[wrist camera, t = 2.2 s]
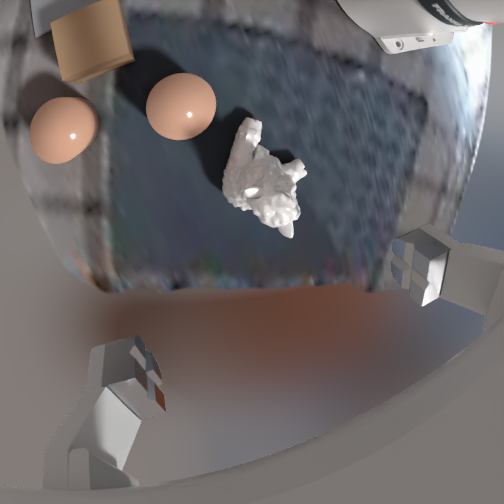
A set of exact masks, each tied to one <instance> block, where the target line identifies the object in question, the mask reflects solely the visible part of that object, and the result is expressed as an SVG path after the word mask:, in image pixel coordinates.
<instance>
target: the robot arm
mask: <svg viewBox="0 0 504 504" xmlns="http://www.w3.org/2000/svg"><path fill="white" fill-rule="evenodd" d="M337 1H338V3H339V4H340V6H341V7H342V9H343V10H344V11H345V12H346V14H347V15H348V16H349V17H350V18H351V19H352V20H353V21H354V22H355V23H356V24H357V25H359V26H360V27H361V28H363V29H364V30H365V31H367V32H368V33H370V34H371V35H372V36H373V37H374V38H375V39H376V41H377V42H378V44H379V45H380V46H381V48H382V49H383V50H384V51H385V52H386V53H388V54H396V53H401V52H405V51H410V50H416V49H421V48H427V47H433V46H439V45H446V44H451V43H452V40H453V35H454V32H465V31H466V30H467V29H468V27H470V26H475V25H480V24H482V23H483V22H484V23H487V24H492V25H495V24H498V23H504V0H337ZM396 43H397V45H396ZM392 251H393V253H394V254H395V255H394V257H393V259H392V261H391V272H392V275H393V278H394V280H395V281H396V283H397V284H398V285H399V286H400V287H402V288H406V289H409V295H410V296H411V297H413V299H414V300H415V301H416V302H418V303H419V304H420V305H421V306H424V305H426V304H427V303H429V302H431V301H433V300H435V299H436V298H438V297H440V298H442V299H445V300H447V301H450V302H452V303H455V304H457V305H460V306H462V307H465V308H467V309H470V310H472V311H475V312H477V313H480V314H482V315H485V318H484V321H483V323H482V330H483V331H484V333H483V334H482V335H480V336H479V337H478V338H477V339H476V340H475V341H473V342H472V343H471V344H470V345H468V346H467V347H466V348H465V349H463V350H462V351H461V352H459V353H458V354H457V355H455V356H454V357H453V358H451V359H450V360H449V361H448V362H446V363H445V364H443V365H442V366H441V367H439V368H438V369H436V370H435V371H433V372H432V373H431V374H429V375H428V376H426V377H425V378H423V379H422V380H420V381H419V382H417V383H416V384H414V385H413V386H411V387H409V388H408V389H406V390H404V391H403V392H401V393H400V394H398V395H396V396H395V397H393V398H391V399H390V400H388V401H386V402H384V403H383V404H381V405H379V406H377V407H375V408H374V409H372V410H370V411H368V412H366V413H364V414H362V415H360V416H359V417H357V418H355V419H353V420H351V421H349V422H347V423H345V424H343V425H341V426H339V427H336V428H334V429H332V430H330V431H328V432H326V433H323V434H321V435H319V436H317V437H314V438H312V439H310V440H307V441H305V442H302V443H300V444H297V445H295V446H292V447H290V448H287V449H285V450H282V451H279V452H276V453H273V454H271V455H267V456H265V457H262V458H259V459H256V460H252V461H249V462H246V463H243V464H239V465H236V466H233V467H229V468H226V469H222V470H218V471H214V472H210V473H206V474H202V475H197V476H193V477H188V478H183V479H178V480H172V481H167V482H161V483H154V484H147V485H140V486H139V481H138V480H137V479H136V478H134V477H132V476H130V475H128V474H127V473H125V472H123V471H122V469H123V466H124V464H125V461H126V458H127V456H128V453H129V451H130V448H131V446H132V443H133V441H134V438H135V436H136V433H137V431H138V428H139V426H140V423H141V419H145V418H149V417H153V416H156V415H160V414H163V413H166V407H165V399H164V394H163V392H162V391H161V390H160V389H159V388H160V386H161V384H162V374H161V371H160V367H159V365H158V363H157V361H156V359H155V357H154V356H153V354H152V353H150V352H148V351H146V350H145V343H144V341H143V340H142V339H141V337H140V336H139V335H134V336H131V337H127V338H124V339H120V340H117V341H113V342H110V343H107V344H104V345H100V346H97V347H93V349H92V350H91V353H90V361H89V369H88V378H87V387H86V391H85V392H82V393H81V394H80V396H79V397H78V399H77V400H76V402H75V403H74V405H73V406H72V408H71V409H70V411H69V412H68V414H67V416H66V417H65V419H64V420H63V422H62V423H61V425H60V426H59V428H58V429H57V431H56V433H55V434H54V436H53V437H52V439H51V441H50V442H49V444H48V445H47V447H46V449H45V453H44V470H43V489H34V488H23V487H13V486H6V485H0V504H504V251H501V250H496V249H492V248H487V247H482V246H478V245H473V244H468V243H463V244H461V243H459V242H458V241H456V240H455V239H453V238H451V237H450V236H449V235H447V234H445V233H444V232H442V231H441V230H439V229H438V228H436V227H434V226H433V225H431V224H425V225H423V226H421V227H419V228H417V229H416V230H413V231H411V232H409V233H406V234H404V235H402V236H400V237H397V238H395V239H394V240H393V242H392Z"/></svg>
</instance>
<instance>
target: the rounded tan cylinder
mask: <svg viewBox="0 0 504 504" xmlns="http://www.w3.org/2000/svg"><path fill="white" fill-rule="evenodd" d="M215 110H216V99H215V95H214V92H213V90H212V88H211V87H210V85H209V84H208V83H207V82H206V81H205V80H203V79H202V78H200V77H198V76H196V75H193V74H188V73H177V74H173V75H170V76H168V77H166V78H164V79H162V80H161V81H159V82H158V83H157V84H156V85H155V86H154V88H153V89H152V90H151V92H150V94H149V96H148V99H147V104H146V113H147V118H148V120H149V122H150V124H151V126H152V127H153V129H154V130H155V131H156V132H158V133H159V134H160V135H162V136H164V137H166V138H169V139H173V140H185V139H189V138H192V137H195V136H197V135H198V134H200V133H201V132H203V131H204V130H205V129H206V128H207V127H208V126H209V124H210V123H211V121H212V119H213V117H214V114H215Z"/></svg>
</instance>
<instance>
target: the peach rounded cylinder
mask: <svg viewBox="0 0 504 504" xmlns="http://www.w3.org/2000/svg"><path fill="white" fill-rule="evenodd" d="M99 126H100V118H99V114H98V111H97V109H96V107H95V106H94V105H93V104H92V103H91V102H90V101H89V100H87V99H85V98H81V97H59V98H54V99H52V100H49V101H48V102H46V103H45V104H43V105H42V106H41V107H40V108H39V109H38V111H37V112H36V113H35V115H34V117H33V119H32V122H31V126H30V142H31V145H32V148H33V150H34V152H35V153H36V154H37V155H38V156H39V157H40V158H41V159H42V160H44V161H46V162H49V163H53V164H59V163H64V162H67V161H69V160H71V159H72V158H74V157H75V156H76V155H78V154H79V153H81V152H82V151H83V150H85V149H86V148H88V147H89V146H90V145H91V144H92V143H93V141H94V140H95V138H96V136H97V134H98V131H99Z"/></svg>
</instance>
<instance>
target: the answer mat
mask: <svg viewBox="0 0 504 504" xmlns="http://www.w3.org/2000/svg"><path fill="white" fill-rule="evenodd" d="M98 1H101V0H30V2H31V10H32V18H33V25H34V32H35V37H36V38H38V37H40V36H42V35H44V34H46V33H48V32H50V31H52V29H51V22H53V21H55V20H57V19H59V18H61V17H63V16H65V15H68V14H70V13H72V12H74V11H76V10H79V9H81V8H83V7H86V6H88V5H91V4H93V3H96V2H98Z"/></svg>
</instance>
